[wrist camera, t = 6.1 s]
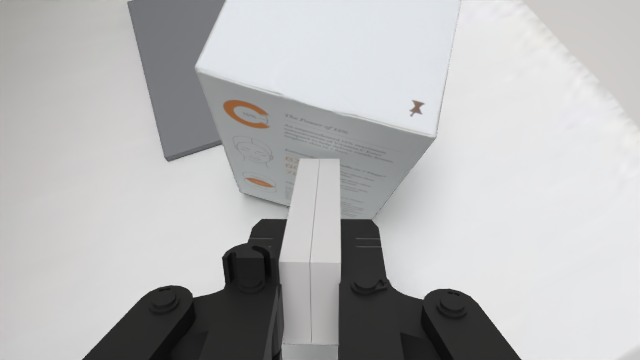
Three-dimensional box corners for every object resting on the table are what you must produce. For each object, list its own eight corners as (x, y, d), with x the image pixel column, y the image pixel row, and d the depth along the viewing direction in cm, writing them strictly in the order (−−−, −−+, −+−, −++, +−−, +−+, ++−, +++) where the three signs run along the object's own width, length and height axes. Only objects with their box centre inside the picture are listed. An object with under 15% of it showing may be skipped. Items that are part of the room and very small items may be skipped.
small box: (388, 136, 28) (471, -15, 15) (366, 230, 26) (441, 142, 13) (268, 102, 28) (253, -75, 15) (235, 192, 26) (189, 71, 13)
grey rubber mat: (130, 7, 32) (127, 1, 31) (359, -59, 33) (359, -66, 33) (168, 161, 28) (164, 157, 27) (427, 77, 29) (429, 72, 28)
